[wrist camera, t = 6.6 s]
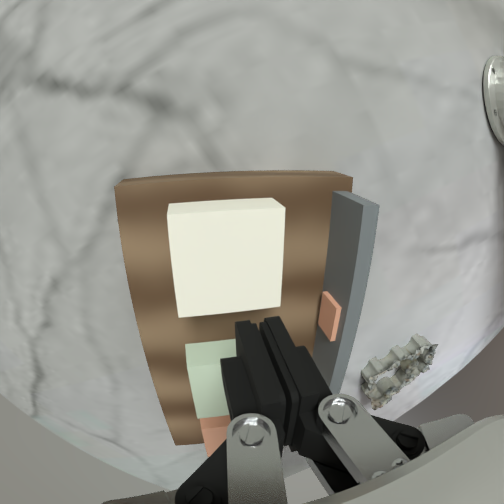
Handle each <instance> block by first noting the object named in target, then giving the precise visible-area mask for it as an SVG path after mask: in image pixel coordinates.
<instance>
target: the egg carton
mask: <svg viewBox="0 0 504 504" xmlns="http://www.w3.org/2000/svg"><path fill="white" fill-rule="evenodd" d="M437 346H438V344H434V345H432V344H431V343H430V342H429V341H428V340H427V339H425V337H424V336H419V335H418V334H415V335H413V336H412V337H411V340H410V341H409V343H408V344H407V345H406V346H404V347H402V348H400V347H399V346H398V345H396V346H394V347H393V348H391V350H390V352H389V354H388V355H387V356H386V357H385V358H383V359H380V360H378V359H377V358H376V357H374V358H372V359H370V360H369V362H368V364H367V366H366V367H365V368H364V369H362V370H361V375H362V376H363V378H364V379H365V380H366V382H365V383H363V384H362V390H363V391H364V393H365V394H366V395H367V397H368V398H369V399H371V400H372V402H371V405H372V409H374V410H376V409H377V408H381V407H383V405H385V404H387V403H388V402H389V401H390V400H392V395H394V394H396V393H398V392H400V389H402V388H403V387H404V386H406V385H408V384H410V383H411V382H412V381H413V380H414V379H415V378H416V377H417V376H419V374H420V372H422V373H424V372H426V371H427V370H429V365H432V360H433V358H434V354H435V353H436V352H435V349H436V347H437ZM399 366H400V367H401V368H400V369H399V370H398V371H397V372H396V374H395V375H394V376H392V377H391V378H389V377H384V378H382V379H380V380H379V381H378V382H377V384H376V385H375V383H374V382H373V381H376V379H377V377H378V375H381V374H383V373H385V372H386V371H390V370H392V369H393V368H398V367H399Z"/></svg>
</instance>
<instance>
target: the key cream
mask: <svg viewBox="0 0 504 504" xmlns="http://www.w3.org/2000/svg"><path fill="white" fill-rule="evenodd" d="M167 223H168V234H169V244H170V254H171V263H172V272H173V280H174V288H175V295H176V303H177V310H178V317H179V318H181V317H192V316H203V315H213V314H222V313H231V312H240V311H249V310H257V309H265V308H273V307H280V303H281V287H282V270H283V251H284V229H285V207H284V206H283V205H281V204H280V203H279V202H277V201H276V200H275V199H273V198H252V199H231V200H214V201H198V202H184V203H171V204H169V206H168V211H167Z"/></svg>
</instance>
